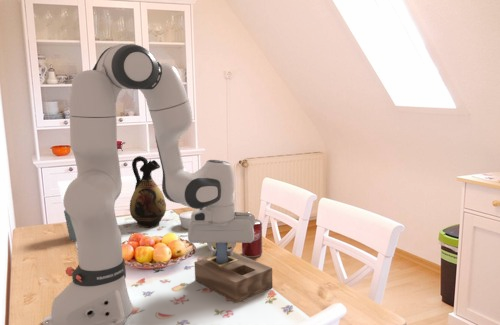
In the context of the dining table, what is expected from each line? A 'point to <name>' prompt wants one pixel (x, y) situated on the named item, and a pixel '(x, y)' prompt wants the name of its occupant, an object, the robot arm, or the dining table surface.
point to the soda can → (254, 242)
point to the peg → (221, 253)
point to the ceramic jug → (146, 196)
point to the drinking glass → (70, 227)
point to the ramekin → (185, 219)
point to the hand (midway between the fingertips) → (222, 255)
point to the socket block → (234, 276)
